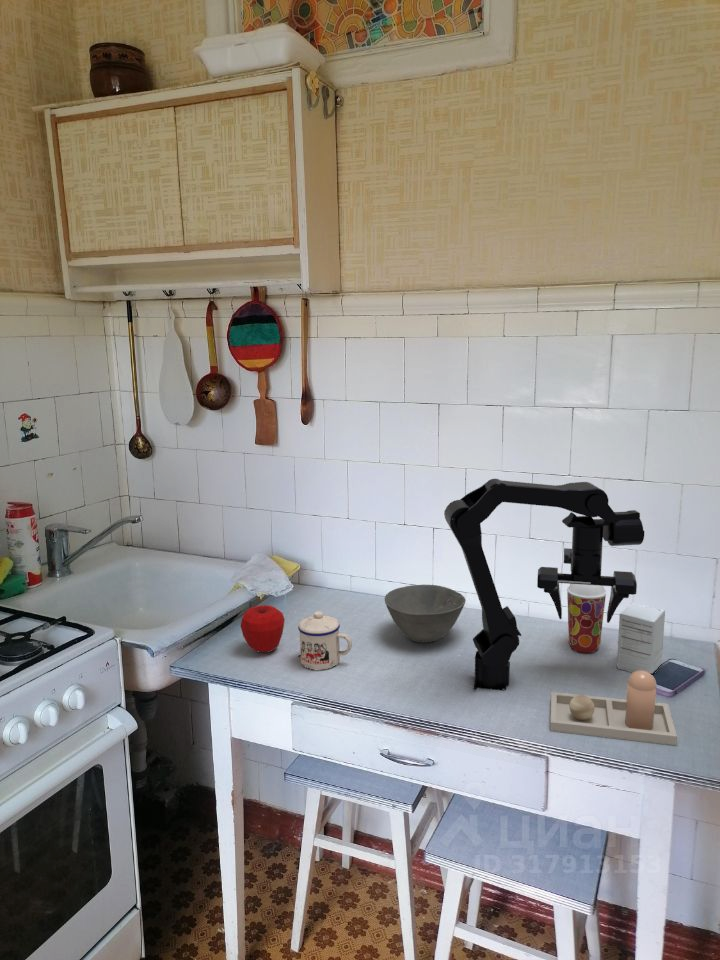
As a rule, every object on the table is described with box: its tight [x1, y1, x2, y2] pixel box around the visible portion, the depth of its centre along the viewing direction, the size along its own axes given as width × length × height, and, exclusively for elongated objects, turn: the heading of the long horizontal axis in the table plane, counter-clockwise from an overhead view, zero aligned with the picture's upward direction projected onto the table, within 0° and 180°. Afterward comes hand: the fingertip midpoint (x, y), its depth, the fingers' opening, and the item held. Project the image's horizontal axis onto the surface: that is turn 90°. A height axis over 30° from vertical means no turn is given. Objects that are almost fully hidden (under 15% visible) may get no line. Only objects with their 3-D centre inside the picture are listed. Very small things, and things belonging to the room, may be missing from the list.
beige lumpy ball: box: [570, 694, 594, 720], centre depth 133 cm, size 4×4×4 cm
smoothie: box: [566, 584, 607, 654], centre depth 160 cm, size 8×8×20 cm
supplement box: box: [616, 602, 666, 674], centre depth 152 cm, size 7×7×13 cm
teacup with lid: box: [297, 611, 353, 670], centre depth 158 cm, size 12×9×12 cm
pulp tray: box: [549, 691, 678, 746], centre depth 132 cm, size 21×11×2 cm, turn 75°
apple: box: [240, 604, 285, 653], centre depth 165 cm, size 10×10×11 cm
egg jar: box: [625, 670, 657, 730], centre depth 129 cm, size 5×5×10 cm
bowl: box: [384, 584, 466, 644], centre depth 169 cm, size 19×19×10 cm
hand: (584, 620), depth 146 cm, fingers open, 9 cm apart
